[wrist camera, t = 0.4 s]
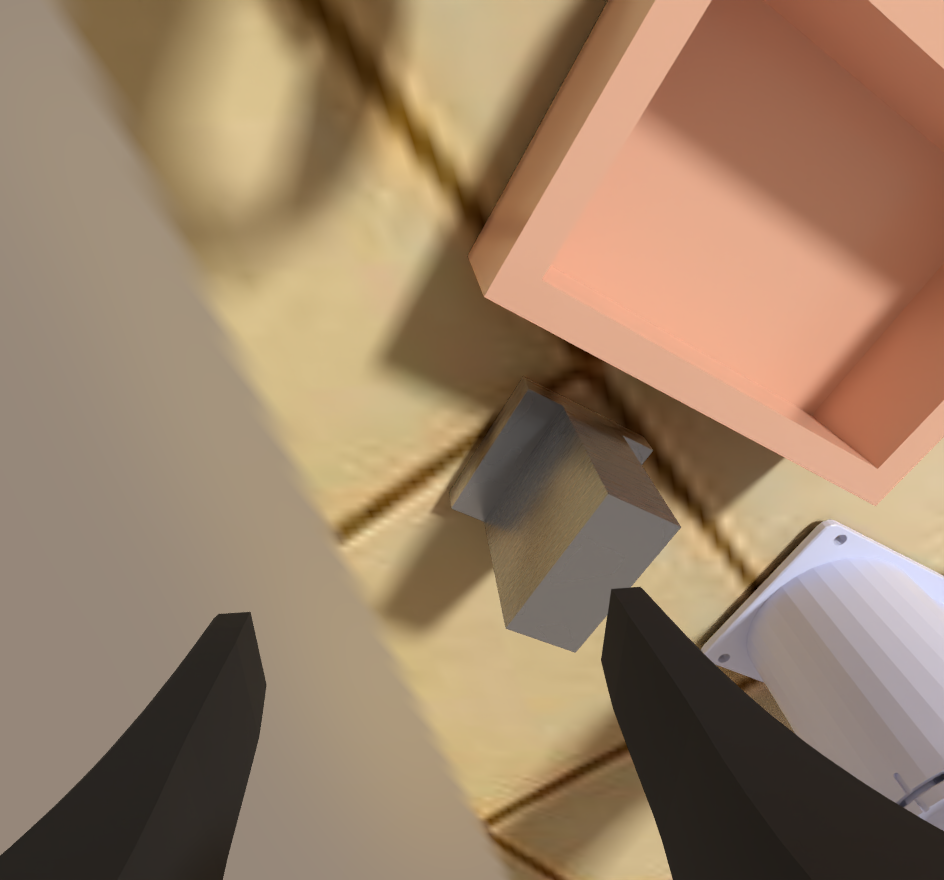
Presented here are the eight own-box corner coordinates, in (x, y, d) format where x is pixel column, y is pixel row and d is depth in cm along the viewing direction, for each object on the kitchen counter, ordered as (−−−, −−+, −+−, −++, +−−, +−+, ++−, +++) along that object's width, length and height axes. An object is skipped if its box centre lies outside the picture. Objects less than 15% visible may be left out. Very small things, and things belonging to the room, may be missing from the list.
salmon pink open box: (1032, 182, 20) (1170, 206, 16) (803, 442, 23) (875, 506, 20) (679, -129, 15) (764, -189, 12) (467, 256, 19) (484, 296, 15)
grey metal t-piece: (643, 435, 23) (717, 543, 17) (564, 539, 24) (611, 664, 19) (522, 376, 21) (565, 474, 16) (449, 492, 23) (465, 614, 18)
